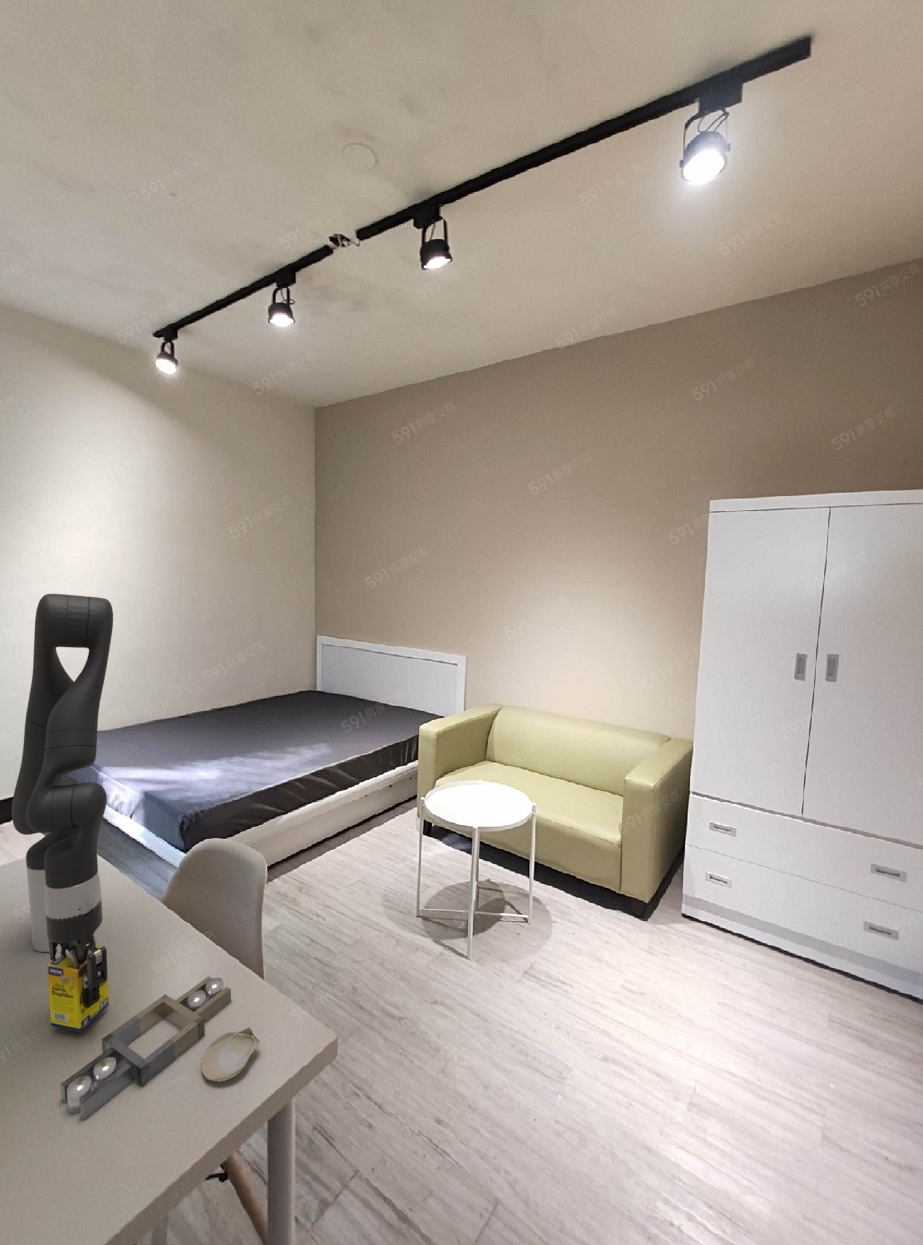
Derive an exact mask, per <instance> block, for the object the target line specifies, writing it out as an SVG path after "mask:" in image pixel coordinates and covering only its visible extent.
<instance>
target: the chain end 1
mask: <svg viewBox="0 0 923 1245" xmlns="http://www.w3.org/2000/svg"><path fill="white" fill-rule="evenodd" d="M140 1036H141V1035H140V1020H139V1018H138V1017H136V1016H135V1015H133V1016H132V1017H131V1018H129V1019H128V1020H127V1021H125V1022H124V1023H122V1024H121V1025H120V1026H118V1027H117V1028H116V1029H114V1030H113V1031H111V1032H109V1033H108V1034H107V1035H106V1036H104V1037H103V1038H101V1045H102V1046H101V1048H102V1053H101V1054H99V1055H98V1056H97V1057H96V1058H94V1059H93V1060H92V1061H90V1062H89V1063H87V1064H86V1065H85V1066H83V1067H82V1068H81V1069H79V1070H77V1072H75V1073H73V1074H72V1075H70V1076H69V1077H68V1078H67V1079H65V1080H63V1082H61V1083H60V1094H61V1101H62V1102H64V1103H65V1104H66V1103H67V1106H68V1107H67V1108H68V1112H69V1113H70V1114H79V1115H80V1116H79V1117H80V1118H81V1119H82V1120H83V1121H86V1119H88V1118H89V1117H90V1116H91V1115H92V1114H94V1113H95V1112H97V1110H99V1109H100V1108H101V1107H103V1106H104V1105H105V1104H106V1103H108V1102H109V1101H110V1100H111V1099H112V1098H114V1097H115V1096H116V1095H117V1094H119V1093H120V1092H121V1091H122V1090H123V1089H125V1088H126V1087H127V1086H128V1085H130V1084H131V1083H132V1082H135V1084H137V1085H138V1086H140V1087H141V1088H143V1087H144V1086H146V1085H147V1084H148V1083H149V1082H151V1081H152V1080H153V1079H154V1078H155V1077H157V1075H159V1074H160V1073H162V1072H163V1070H165V1069H166V1068H167V1067H169V1066H170V1065H171V1064H172V1063H174V1061H176V1060H175V1047H174V1042H173V1041H172V1040H170V1038H169V1039H168V1040H166V1041H165V1042H164V1043H163V1044H161V1045H160V1046H159V1047H157V1048H156V1049H155V1050H154V1051H153V1052H151V1053H150V1054H149V1055H148V1056H146V1057H145V1058H144V1057H142V1056H141V1055H140V1054H138V1053H137V1052H135V1051H134V1050H133V1049H132V1048H131V1047H128V1045H129V1044H131V1043H132V1042H134V1041H135V1040H136V1039H137V1038H139V1037H140ZM92 1083H94V1085H93V1086H94V1089H92Z"/></svg>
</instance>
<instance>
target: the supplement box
mask: <svg viewBox="0 0 923 1245" xmlns="http://www.w3.org/2000/svg"><path fill="white" fill-rule="evenodd" d="M101 947H103V946H101V945H96V948H98V949H99V948H101ZM105 948H106V949H107V947H106V946H105ZM79 966H80V967H81V968H83V967H85V966H87V964H86V961H85V962H83V963H81V964H79ZM46 967H47V979H48V980H47V981H48V982H47V983H48V998H49V1016H50V1026H51V1027H53V1028H57V1029H63V1030H67V1031H72V1032H78V1033H81V1032H82V1031H83V1030H85V1028H86V1027H87V1026H88V1025H89V1024H90V1023H91V1022H92V1021H94V1019H95V1018H96V1017H98V1015H99V1014H101V1013H102V1012H103V1011H104V1010H105V1009H107V1008H108V1006H110V1004H109V1003H110V1002H109V1000H110V999H109V998H110V997H109V984H108V983H109V980H108V979H109V978H108V975H107V980H106V981H104V982H102V983H101V984H99V992H100V999H99V1001H98V1002H97V1003H95V1004H94V1005H92V1006H90V1007H89V1008H86V1007H84V1006H83V993H82V983H81V975H78V973H79V971H80V970H81V968H80V969H78V970H76V969H75V968H73V967H72V965H71V962H70V960H68V959H67V957H65V956H63V957H61V958H57V959H56V960H55V961H53V962H52V961H51V963H49V964H47V966H46ZM85 974H86V977H87V971H86V973H85Z"/></svg>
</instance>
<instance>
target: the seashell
mask: <svg viewBox="0 0 923 1245" xmlns="http://www.w3.org/2000/svg"><path fill="white" fill-rule="evenodd" d="M259 1043H260V1041H259V1039H258V1038H257V1036H255V1035H254V1033H253V1030H252V1029H251V1027H247V1028H245V1029H242V1031H233V1032H227V1033H225V1034H222V1035H219V1036H218V1037H217V1038H215V1040H214V1041H212V1043H210V1045H209V1046H208V1047H207V1048H206V1051H205V1052H204V1054H203V1056H202V1060H201V1061H200V1062H201V1063H200V1066H201V1067H200V1069H201V1073H202V1076H203V1077H204V1078H205V1079H206V1081H207V1080H208V1081H209V1082H213V1083H221V1082H226V1081H227V1080H231V1079H232V1078H234V1077H236V1076H237V1075H238V1074H240V1073H241V1071H242V1070H244V1068H245V1066H246V1065H247V1062H249V1059H250V1057H251V1056H252V1055H253V1053H254V1052H255V1050H256V1049H257V1047H258V1046H259Z"/></svg>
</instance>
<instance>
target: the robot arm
mask: <svg viewBox="0 0 923 1245" xmlns="http://www.w3.org/2000/svg"><path fill="white" fill-rule="evenodd" d="M34 619H35V621H34V631H33V632H34V635H33V636H34V637H33V638H34V639H33V640H34V641H33V660H32V664H33V665H32V677H31V684H30V690H29V695H28V696H29V697H28V701H27V707H26V712H25V713H26V714H25V722H24V732H23V733H24V734H23V746H22V756H21V763H20V767H19V773H18V777H17V780H16V784H15V788H14V792H13V796H12V802H11V819H12V825H13V827H14V829H15V830H16V831H17V832H18V833H19V834H22V835H25V836H26V835H27V836H29V835H30V836H31V835H34V834H45V833H47V834H46V835H45V836H44V837H42V838H41V839H39V840H38V841H36V842H35V843H34V844H32V845H31V846H30V847H29V848H28V850H26V855H25V862H26V875H27V885H28V886H27V888H28V898H29V911H30V912H29V913H30V925H31V928H30V929H31V940H32V948H33V950H35V951H37V952H40V953H41V952H42V953H45V952H46V953H47V952H48V953H49V959H50V961H51V963H52V962H53V961H55V960H56V959H57V958H61V957H63V956H65V957H67V959H68V960H70V962H71V965H72V967H73V968H75V969H76V970H78V969H80V968H81V967H80V966H79V964H81V963H83V962H85V961H86V964H87V966H85V967H83V968H81V970H80V971H79V973H78V975H81V983H82V993H83V1006H84V1007H86V1008H89V1007H90V1006H92V1005H94V1004H95V1003H97V1002H98V1001H99V999H100V992H99V984H101V983H102V982H104V981H106V980H107V976H108V956H107V955H108V952H107V947H106V946H105V945H103V946H102V947H101V948H99V949H98V948H96V946H97V941H96V938H95V936H94V934H95V933H96V930H98V929H99V927H100V926H101V924H102V922H103V918H104V917H103V905H102V903H103V901H102V890H101V889H102V884H101V878H100V875H99V866H98V865H99V864H98V863H99V862H98V840H99V833H100V828H101V824H102V821H103V819H104V814H105V812H106V808H107V802H108V795H107V791H106V790H105V787H103V786H102V785H101V784H100V783H97V782H95V781H93V782H92V781H91V782H89V781H88V782H81V783H79V782H78V780H76V779H75V778H74V777H71V776H67V775H68V774H70V773H71V772H75V771H78V770H83V769H86V768H88V767H90V766H92V765H93V764H95V762H96V759H97V750H98V748H97V745H98V725H99V721H98V720H99V712H100V704H101V699H102V693H103V688H104V684H105V678H106V674H107V673H106V672H107V666H108V660H109V655H110V649H111V641H112V635H113V628H114V627H113V626H114V610H113V605H112V603H111V602H110V600H108V599H107V598H105V597H97V596H88V595H87V596H86V595H77V594H76V595H75V594H64V593H47V594H44V595H43V596H42V597H41V598H40V600H39V601H38V604H37V607H36V612H35V618H34ZM57 648H72V649H73V648H74V649H75V648H79V649H88V653H87V654H88V655H87V657H86V661H85V664H84V666H83V668H82V670H81V671H80V673H79V674H78V676H77V677H76V679H75V680H73V679H72V678H71V676H70V675H69V674H68V672H67V671H66V669H65V667H64V666H63V664H62V663H61V660H60V657H59V655H58V652H57ZM105 947H106V948H105ZM86 971H87V977H86V974H85V973H86Z"/></svg>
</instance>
